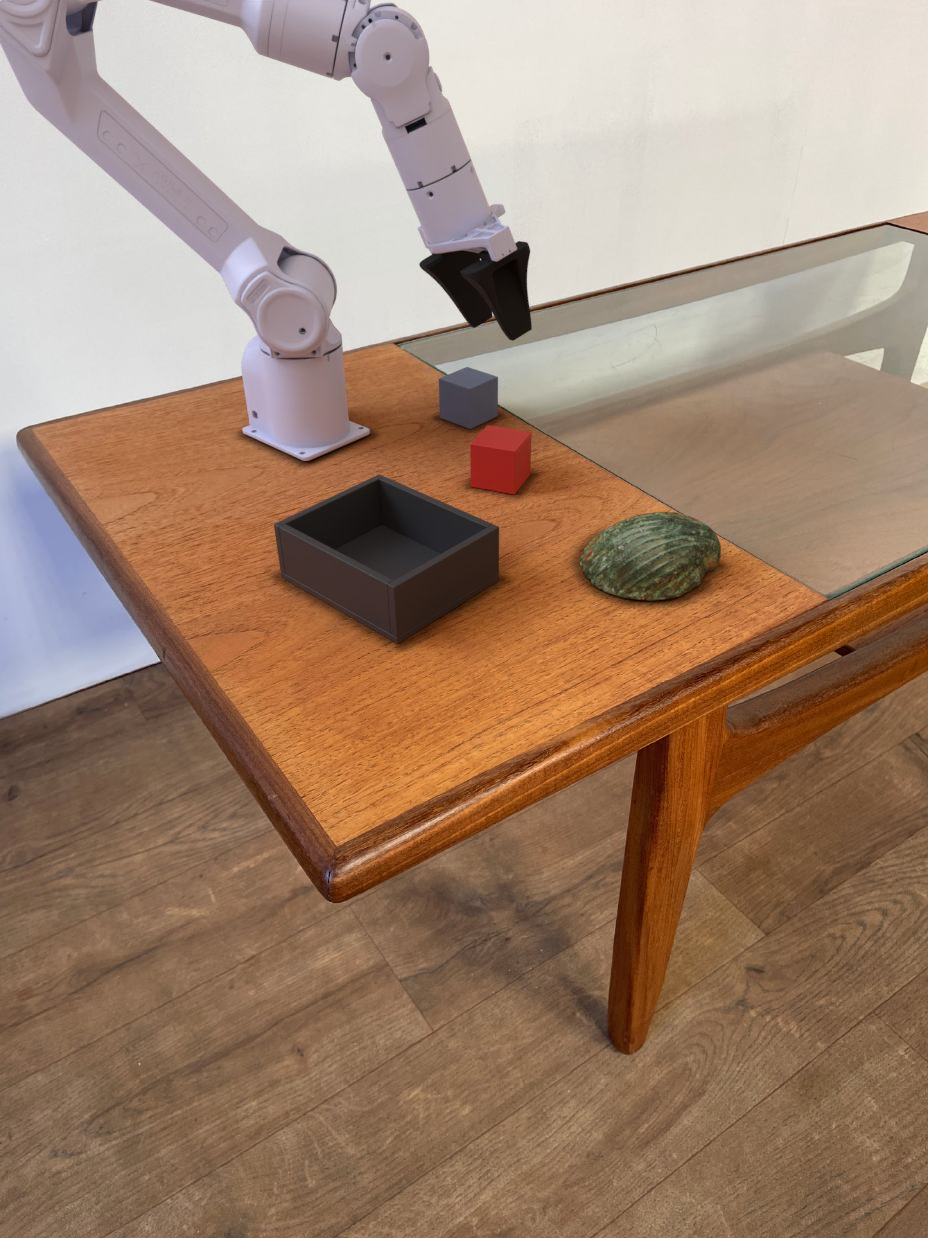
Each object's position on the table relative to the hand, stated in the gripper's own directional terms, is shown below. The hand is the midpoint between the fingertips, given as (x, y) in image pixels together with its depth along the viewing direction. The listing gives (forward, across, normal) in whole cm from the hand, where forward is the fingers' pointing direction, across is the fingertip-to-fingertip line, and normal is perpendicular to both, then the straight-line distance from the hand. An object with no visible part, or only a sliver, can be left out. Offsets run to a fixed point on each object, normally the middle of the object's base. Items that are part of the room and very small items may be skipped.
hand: (500, 328), depth 84 cm
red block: (+9, -7, +8) cm, 14 cm away
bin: (+6, -17, +22) cm, 28 cm away
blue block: (+8, +6, +4) cm, 11 cm away
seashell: (+13, -24, +5) cm, 27 cm away
